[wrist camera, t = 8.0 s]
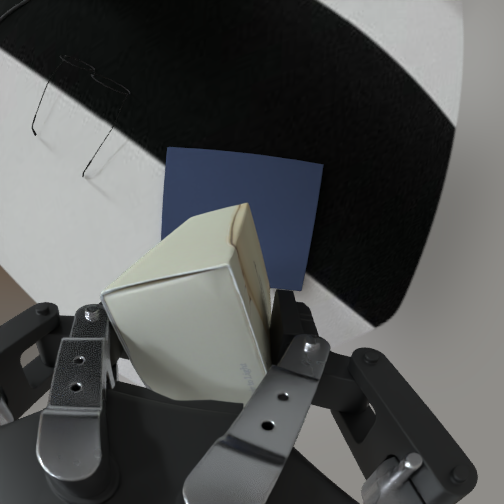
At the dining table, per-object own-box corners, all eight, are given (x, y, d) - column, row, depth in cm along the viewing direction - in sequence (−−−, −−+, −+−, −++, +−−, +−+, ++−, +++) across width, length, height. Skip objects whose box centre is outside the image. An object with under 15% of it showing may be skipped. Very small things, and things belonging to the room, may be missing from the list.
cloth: (161, 272, 32) (160, 273, 32) (168, 147, 28) (167, 147, 27) (300, 289, 32) (301, 291, 32) (322, 164, 28) (323, 164, 28)
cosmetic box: (270, 284, 21) (286, 420, 9) (210, 297, 21) (173, 432, 9) (247, 198, 19) (237, 260, 7) (183, 215, 19) (93, 294, 8)
